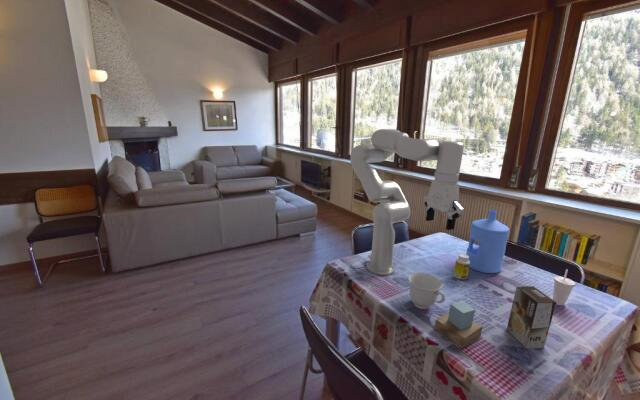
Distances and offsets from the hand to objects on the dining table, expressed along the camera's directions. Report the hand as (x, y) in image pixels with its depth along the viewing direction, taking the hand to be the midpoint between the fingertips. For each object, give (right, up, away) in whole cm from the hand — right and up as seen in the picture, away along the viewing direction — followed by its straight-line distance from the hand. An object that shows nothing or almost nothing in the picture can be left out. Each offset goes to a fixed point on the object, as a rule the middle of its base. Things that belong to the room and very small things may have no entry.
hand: (439, 224), depth 105 cm
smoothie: (+50, -31, +9) cm, 59 cm away
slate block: (+2, -31, -11) cm, 33 cm away
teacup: (-4, -31, +3) cm, 31 cm away
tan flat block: (+2, -35, -10) cm, 36 cm away
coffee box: (+23, -36, -11) cm, 44 cm away
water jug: (+35, -23, +36) cm, 56 cm away
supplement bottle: (+20, -26, +25) cm, 41 cm away
